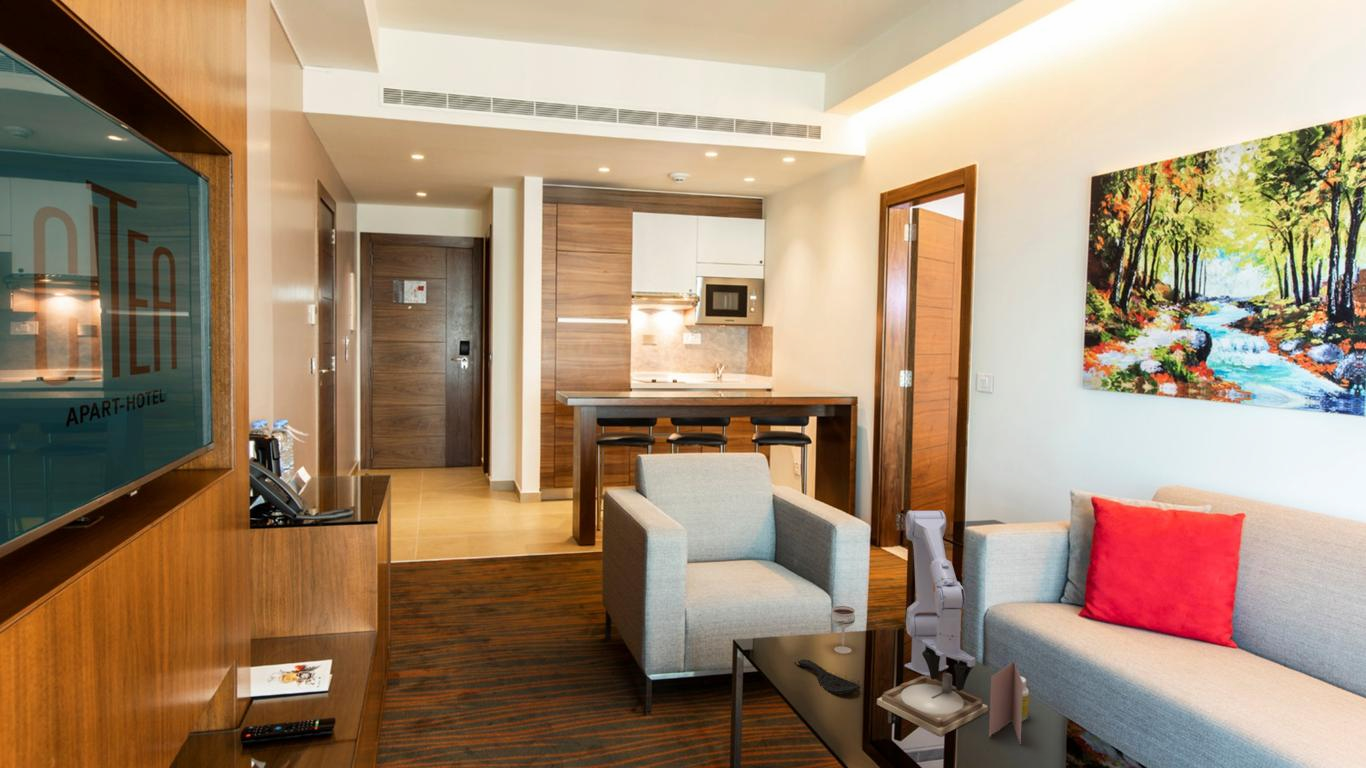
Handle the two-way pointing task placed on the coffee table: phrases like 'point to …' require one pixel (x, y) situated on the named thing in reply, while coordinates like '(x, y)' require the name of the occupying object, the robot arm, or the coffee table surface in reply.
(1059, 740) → the coffee table surface
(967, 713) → the dial housing
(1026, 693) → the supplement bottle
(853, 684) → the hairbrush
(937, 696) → the dial
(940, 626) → the robot arm
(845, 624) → the wineglass
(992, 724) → the greeting card
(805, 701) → the coffee table surface
